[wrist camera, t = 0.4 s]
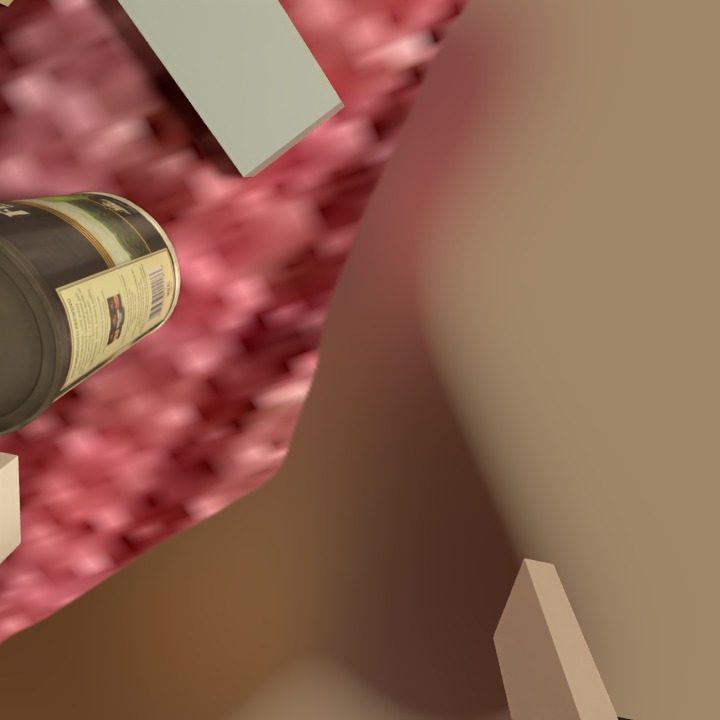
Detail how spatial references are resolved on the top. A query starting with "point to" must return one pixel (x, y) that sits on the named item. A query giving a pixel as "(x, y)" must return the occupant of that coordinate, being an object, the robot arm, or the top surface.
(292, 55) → the grey flat block
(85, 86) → the top surface
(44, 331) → the coffee can
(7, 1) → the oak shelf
